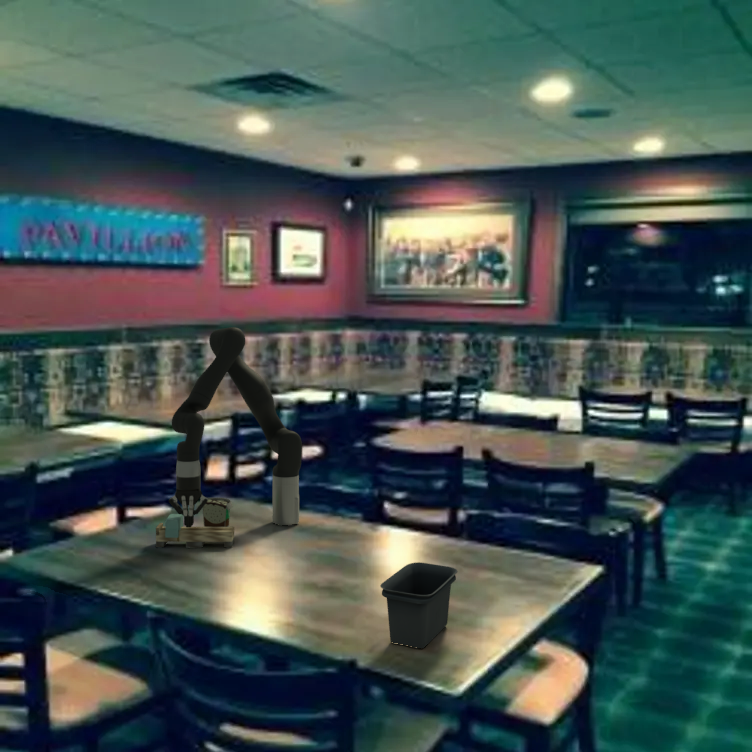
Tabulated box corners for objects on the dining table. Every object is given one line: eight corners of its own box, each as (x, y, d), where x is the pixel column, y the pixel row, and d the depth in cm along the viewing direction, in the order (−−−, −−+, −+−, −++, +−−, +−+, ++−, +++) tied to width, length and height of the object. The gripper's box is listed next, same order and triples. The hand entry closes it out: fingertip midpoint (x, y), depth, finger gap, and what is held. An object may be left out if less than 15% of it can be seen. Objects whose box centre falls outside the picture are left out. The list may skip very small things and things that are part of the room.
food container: (239, 528, 293) (239, 500, 292) (227, 532, 288) (227, 503, 287) (213, 523, 299) (213, 495, 298) (201, 527, 294) (200, 498, 293)
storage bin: (428, 657, 191) (430, 595, 190) (366, 644, 198) (367, 585, 197) (460, 624, 211) (461, 568, 209) (402, 613, 217) (403, 559, 216)
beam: (234, 542, 277) (234, 522, 277) (231, 548, 271) (231, 528, 270) (160, 541, 276) (160, 522, 276) (155, 547, 270) (155, 528, 269)
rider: (183, 529, 277) (183, 513, 277) (178, 537, 269) (177, 520, 268) (170, 529, 277) (170, 513, 277) (165, 537, 268) (165, 520, 268)
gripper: (211, 471, 275) (211, 523, 277) (169, 471, 275) (170, 523, 276) (207, 476, 268) (207, 530, 269) (165, 476, 267) (165, 530, 269)
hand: (188, 526), depth 273 cm, fingers closed
